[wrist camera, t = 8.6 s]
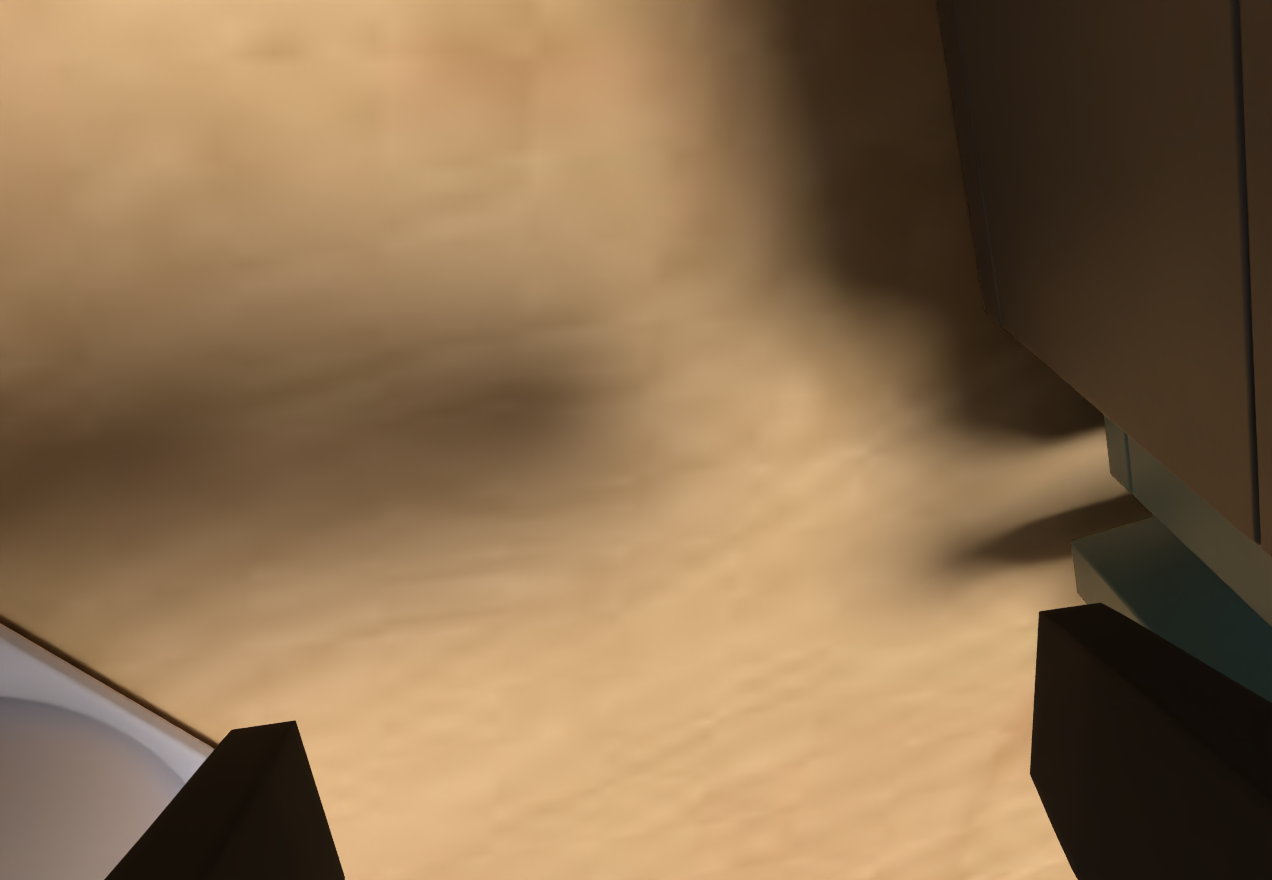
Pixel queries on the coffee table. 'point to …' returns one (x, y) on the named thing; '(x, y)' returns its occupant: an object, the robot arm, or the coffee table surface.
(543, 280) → the coffee table surface
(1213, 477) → the cabinet
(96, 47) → the coffee table surface
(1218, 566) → the drawer
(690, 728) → the coffee table surface
